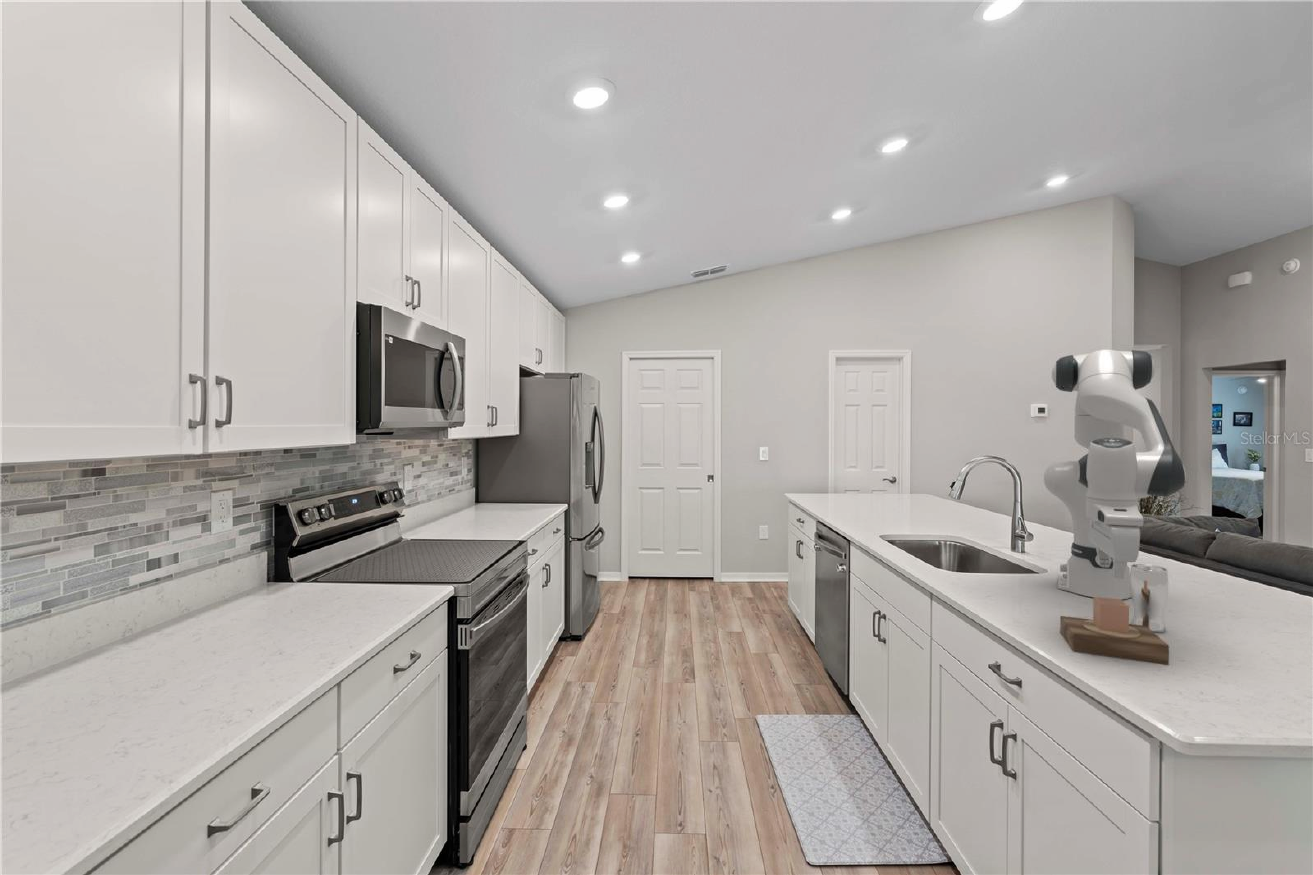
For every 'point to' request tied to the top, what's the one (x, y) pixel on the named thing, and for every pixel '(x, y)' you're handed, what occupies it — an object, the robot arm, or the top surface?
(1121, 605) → the terracotta block
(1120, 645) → the block
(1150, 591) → the beer glass
